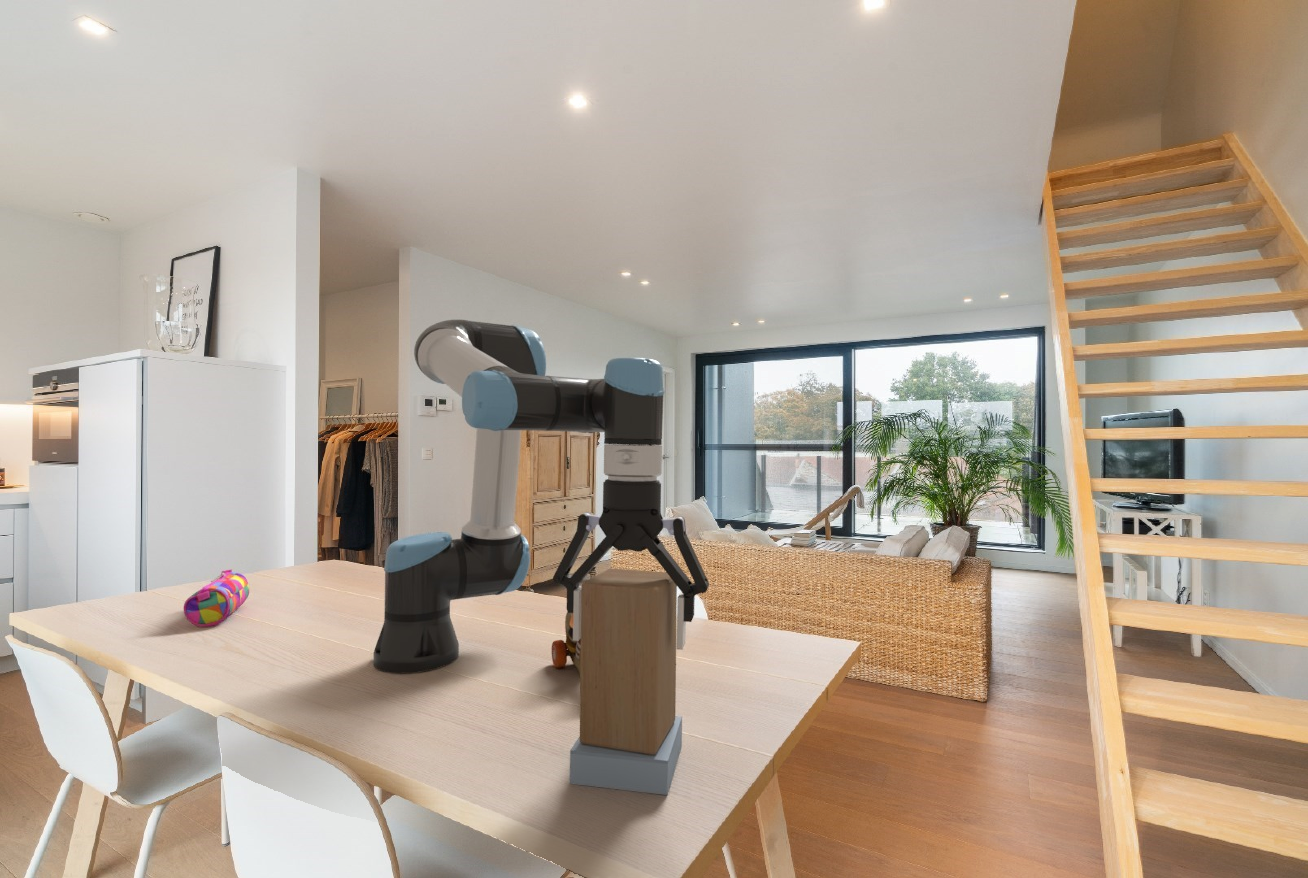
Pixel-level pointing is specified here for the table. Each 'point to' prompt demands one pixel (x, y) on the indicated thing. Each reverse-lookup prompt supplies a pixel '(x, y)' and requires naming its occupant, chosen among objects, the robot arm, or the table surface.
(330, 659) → the table surface
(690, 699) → the table surface
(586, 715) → the wooden block
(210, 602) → the pencil case
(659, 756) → the base brick
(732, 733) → the table surface
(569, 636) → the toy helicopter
